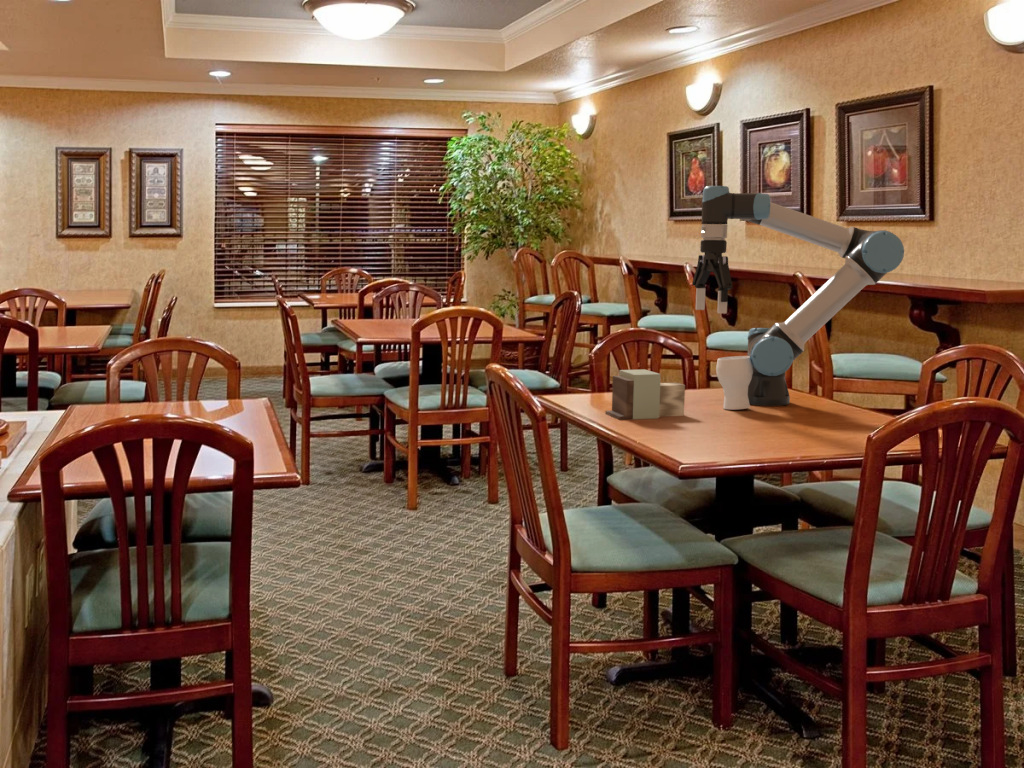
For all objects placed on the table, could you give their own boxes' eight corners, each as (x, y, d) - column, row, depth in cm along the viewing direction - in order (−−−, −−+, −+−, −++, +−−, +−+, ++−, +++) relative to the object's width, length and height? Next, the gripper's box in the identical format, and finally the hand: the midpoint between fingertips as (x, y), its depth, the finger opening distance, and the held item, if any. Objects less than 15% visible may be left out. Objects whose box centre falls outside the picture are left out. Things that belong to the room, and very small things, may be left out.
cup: (755, 409, 310) (752, 358, 309) (718, 411, 312) (715, 360, 311) (754, 404, 320) (751, 355, 319) (718, 406, 323) (715, 357, 321)
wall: (618, 413, 306) (619, 375, 304) (632, 419, 296) (633, 380, 295) (605, 414, 304) (606, 376, 303) (619, 420, 295) (620, 380, 293)
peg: (676, 413, 308) (677, 382, 307) (683, 416, 304) (685, 385, 302) (631, 415, 304) (632, 384, 303) (638, 418, 299) (639, 386, 298)
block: (643, 412, 308) (644, 369, 306) (659, 418, 298) (660, 374, 297) (618, 413, 306) (619, 370, 304) (632, 419, 296) (634, 374, 294)
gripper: (682, 238, 323) (680, 308, 326) (723, 239, 300) (719, 314, 303) (705, 239, 325) (702, 308, 328) (746, 240, 302) (743, 314, 305)
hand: (710, 311), depth 315 cm, fingers open, 13 cm apart
